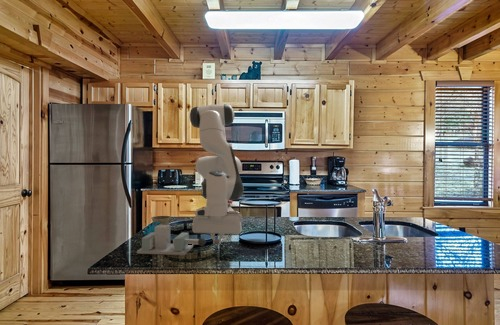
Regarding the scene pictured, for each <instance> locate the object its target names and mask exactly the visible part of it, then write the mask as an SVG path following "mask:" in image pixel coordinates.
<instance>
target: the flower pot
mask: <svg viewBox="0 0 500 325" xmlns="http://www.w3.org/2000/svg"><path fill="white" fill-rule="evenodd" d="M170 220H171V216H169V215H155V216H152V217H151V221H152V223H153V222H155V223H156V224H157V222H160V224H163V225H170ZM156 224H155V225H156ZM160 224H159V225H160ZM157 226H158V225H157Z"/></svg>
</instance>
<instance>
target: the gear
mask: <svg viewBox="0 0 500 325" xmlns="http://www.w3.org/2000/svg"><path fill="white" fill-rule="evenodd" d="M155 224H156V223H155V222H153V221H152V224H151V223H149V224H147V226H148V227H144V231H143V235H144V237H145V236H146V235H148V234H150V233H151V232H155V227H156V226H157V225H159V224H160V222H157V224H156V225H155ZM160 225H163V224H160ZM146 231H147V232H146Z"/></svg>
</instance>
